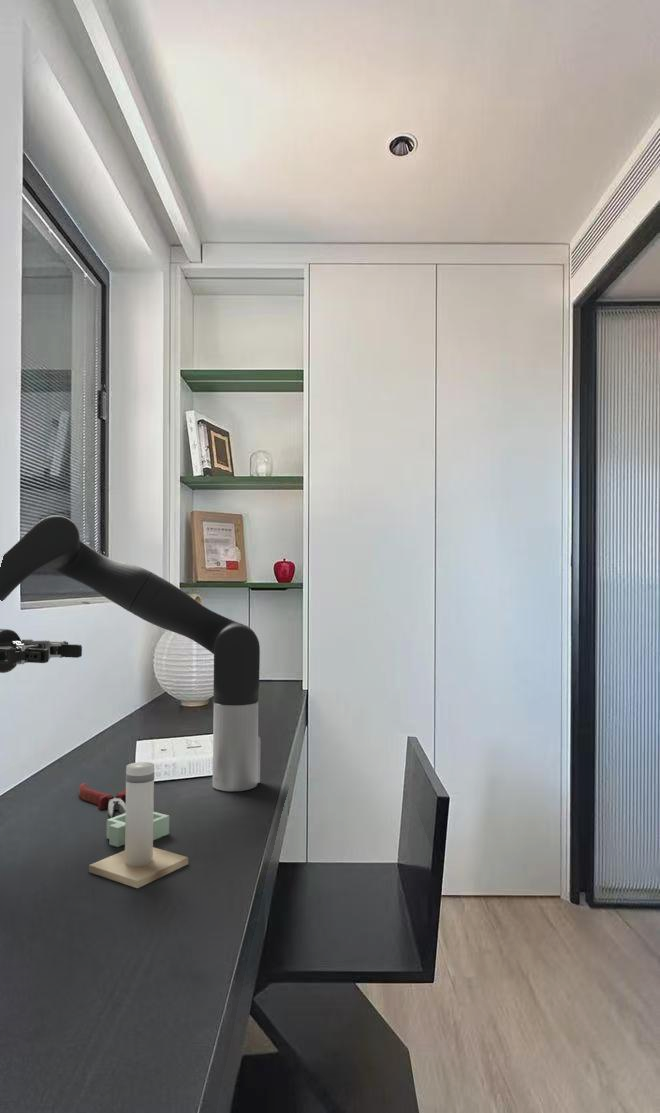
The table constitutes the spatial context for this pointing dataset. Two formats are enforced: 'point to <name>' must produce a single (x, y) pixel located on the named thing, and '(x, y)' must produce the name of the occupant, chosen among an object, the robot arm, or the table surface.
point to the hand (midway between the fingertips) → (64, 653)
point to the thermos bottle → (139, 814)
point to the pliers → (104, 799)
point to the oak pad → (138, 868)
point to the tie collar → (118, 828)
